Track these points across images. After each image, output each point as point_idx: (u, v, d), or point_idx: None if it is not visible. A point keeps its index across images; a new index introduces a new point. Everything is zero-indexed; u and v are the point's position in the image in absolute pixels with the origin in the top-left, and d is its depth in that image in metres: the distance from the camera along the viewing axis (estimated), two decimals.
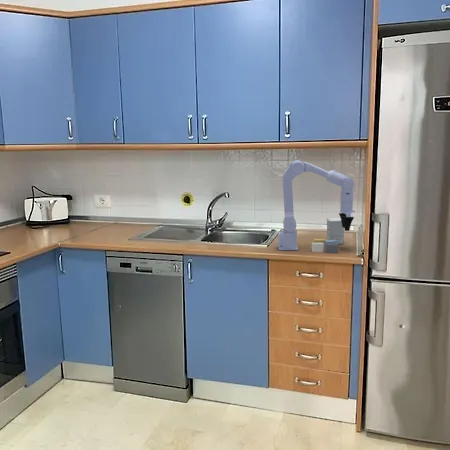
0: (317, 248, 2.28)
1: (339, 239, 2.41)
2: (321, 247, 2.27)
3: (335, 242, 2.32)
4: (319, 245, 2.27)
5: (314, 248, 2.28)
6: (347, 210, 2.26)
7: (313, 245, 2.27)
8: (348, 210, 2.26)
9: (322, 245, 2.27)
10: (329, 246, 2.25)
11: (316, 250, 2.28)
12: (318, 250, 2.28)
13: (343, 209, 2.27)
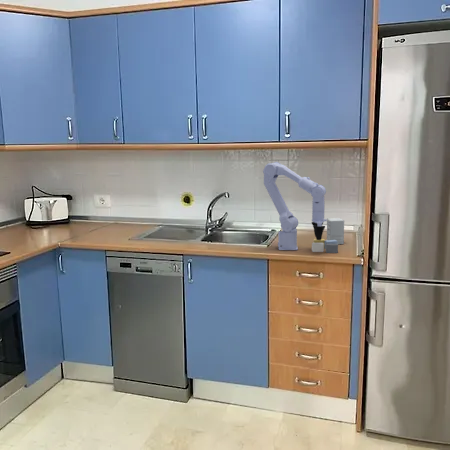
0: (317, 248, 2.28)
1: (339, 239, 2.41)
2: (321, 247, 2.27)
3: (335, 242, 2.32)
4: (319, 245, 2.27)
5: (314, 248, 2.28)
6: (319, 219, 2.23)
7: (313, 245, 2.27)
8: (320, 219, 2.23)
9: (322, 245, 2.27)
10: (329, 246, 2.25)
11: (316, 250, 2.28)
12: (318, 250, 2.28)
13: (315, 218, 2.24)
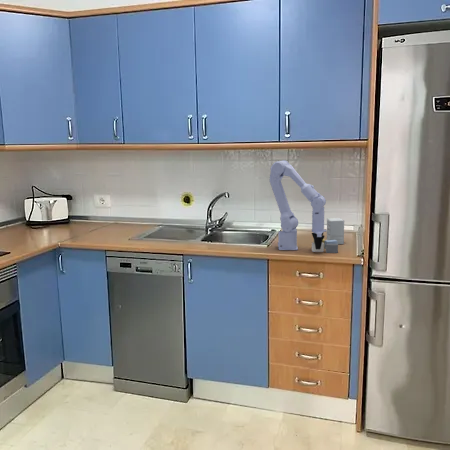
0: None
1: (339, 239, 2.41)
2: (321, 247, 2.27)
3: (335, 242, 2.32)
4: None
5: (314, 248, 2.28)
6: (318, 230, 2.24)
7: (313, 245, 2.27)
8: (319, 230, 2.24)
9: (322, 245, 2.27)
10: (329, 246, 2.25)
11: (316, 250, 2.28)
12: (318, 250, 2.28)
13: (314, 228, 2.25)
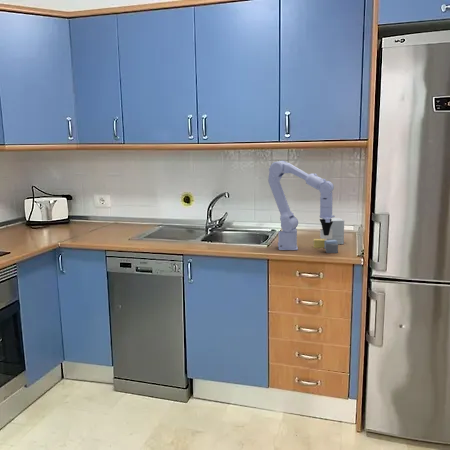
0: None
1: (339, 239, 2.41)
2: (330, 233, 2.24)
3: (335, 242, 2.32)
4: None
5: (323, 234, 2.25)
6: (327, 215, 2.21)
7: (322, 232, 2.25)
8: (328, 215, 2.21)
9: (331, 231, 2.24)
10: (329, 246, 2.25)
11: (325, 237, 2.25)
12: (327, 237, 2.25)
13: (322, 214, 2.22)
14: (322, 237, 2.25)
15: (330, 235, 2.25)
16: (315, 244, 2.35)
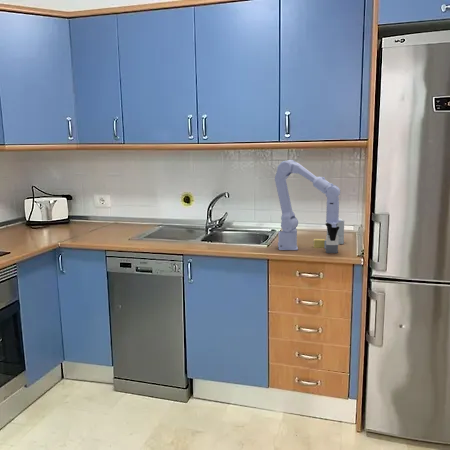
0: None
1: (339, 239, 2.41)
2: (336, 240, 2.24)
3: None
4: None
5: (329, 241, 2.24)
6: (333, 220, 2.21)
7: (328, 238, 2.24)
8: (334, 220, 2.21)
9: (337, 238, 2.24)
10: (329, 246, 2.25)
11: (331, 243, 2.24)
12: (333, 243, 2.24)
13: (329, 219, 2.21)
14: (328, 243, 2.24)
15: (336, 241, 2.24)
16: (315, 244, 2.35)
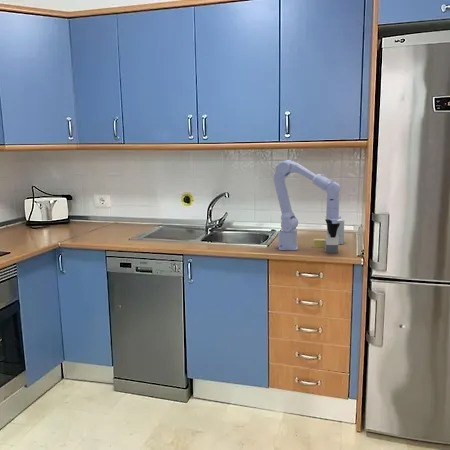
0: (332, 240, 2.24)
1: (339, 239, 2.41)
2: (336, 240, 2.24)
3: None
4: (334, 238, 2.24)
5: (329, 241, 2.24)
6: (333, 216, 2.20)
7: (328, 238, 2.24)
8: (334, 216, 2.20)
9: (337, 238, 2.24)
10: (329, 246, 2.25)
11: (331, 243, 2.24)
12: (333, 243, 2.24)
13: (329, 215, 2.21)
14: (328, 243, 2.24)
15: (336, 241, 2.24)
16: (315, 244, 2.35)
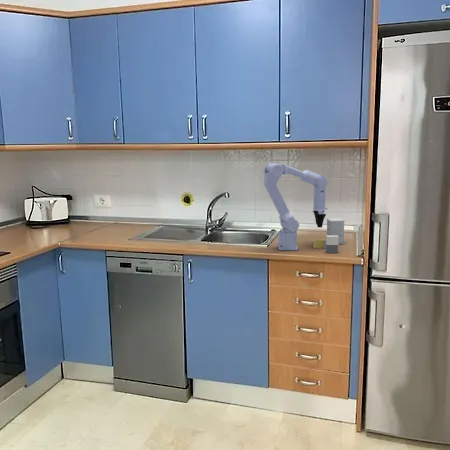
0: (332, 240, 2.24)
1: (339, 240, 2.41)
2: (336, 240, 2.24)
3: None
4: (334, 238, 2.24)
5: (329, 241, 2.24)
6: (320, 207, 2.33)
7: (328, 238, 2.24)
8: (321, 207, 2.33)
9: (337, 238, 2.24)
10: (329, 246, 2.25)
11: (331, 243, 2.24)
12: (333, 243, 2.24)
13: (316, 206, 2.34)
14: (328, 243, 2.25)
15: (336, 241, 2.24)
16: (315, 244, 2.35)
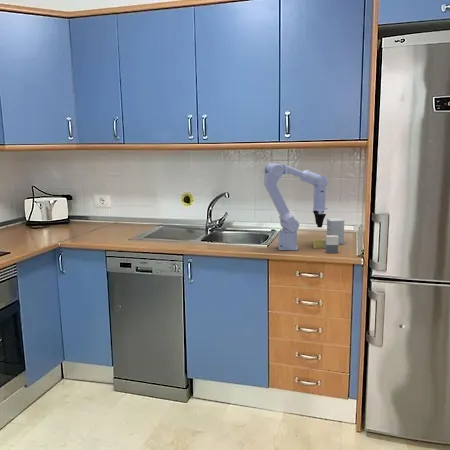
0: (332, 240, 2.24)
1: (339, 240, 2.41)
2: (336, 240, 2.24)
3: None
4: (334, 238, 2.24)
5: (329, 241, 2.24)
6: (320, 207, 2.33)
7: (328, 238, 2.24)
8: (321, 207, 2.33)
9: (337, 238, 2.24)
10: (329, 246, 2.25)
11: (331, 243, 2.24)
12: (333, 243, 2.24)
13: (316, 206, 2.34)
14: (328, 243, 2.25)
15: (336, 241, 2.24)
16: (315, 244, 2.35)
